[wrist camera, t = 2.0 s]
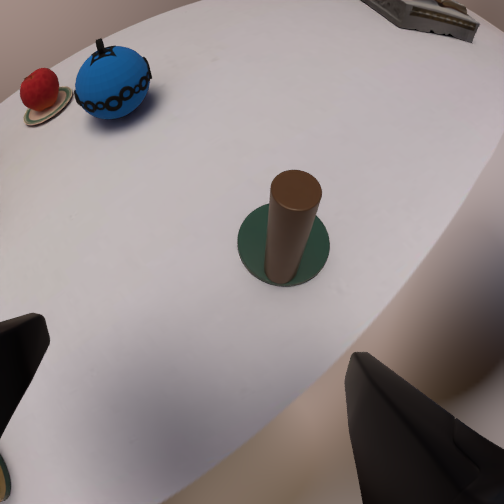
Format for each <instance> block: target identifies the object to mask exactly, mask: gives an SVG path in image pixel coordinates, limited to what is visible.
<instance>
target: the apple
mask: <svg viewBox="0 0 504 504" xmlns="http://www.w3.org/2000/svg"><path fill="white" fill-rule="evenodd" d="M71 96H72V90H71V88H69V87H59V82H58V78H57V76H56V74H55V73H54V72H53V71H51V70H50V69H48V68H41V69H37V70H36V71H34V72H33V73H31V74H30V75H29V76H28V77H26V78H25V79H24V81H23V82H22V84H21V88H20V97H21V100H22V102H23V104H24V105H25V106H26V107H28V109H27V111H26V113H25V115H24V123H25V124H26V125H37V124H40V123H42V122H44V121H46V120H48V119H49V118H51V117H53V116H54V115H55V114H57V113H58V112H59V111H60V110H61V109H62V108H64V106H65V105H66V104H67V103H68V102H69V100H70V98H71Z"/></svg>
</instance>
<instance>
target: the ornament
mask: <svg viewBox="0 0 504 504" xmlns="http://www.w3.org/2000/svg"><path fill="white" fill-rule="evenodd" d="M96 47H97V50H98V51H96V52H94V53H93V54H92V55H91V56H90V57H89V58H88V59H87V60H86V61H85V62H84V64H83V65H82V67H81V68H80V70H79V72H78V75H77V78H76V84H75V87H76V90H75V91H74V95H75V99H76V102H77V103H78V104H79V105H80V106H82V108H83V109H84V110H85V111H86V112H88V113H89V114H91V115H92V116H94V117H97V118H101V119H115V118H120V117H123V116H125V115H127V114H129V113H130V112H132V111H133V110H134V109H136V108H137V107H138V106H139V105H140V104H141V102H142V101H143V99H144V98H145V96H146V94H147V91H148V88H149V84H150V79H152V75H151V71H150V67H149V64H148V61H147V60H146V58H145V57H142V56H140V55H139V54H138V53H137V52H136V51H134V50H132V49H129V48H126V47H121V46H110V47H106V48H104V44H103V41H102V39H98V40H96Z"/></svg>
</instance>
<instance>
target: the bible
mask: <svg viewBox="0 0 504 504" xmlns="http://www.w3.org/2000/svg"><path fill="white" fill-rule="evenodd" d="M361 1H363V2H365V3H366V4H368V6H370V7H371V8H373V9H374V10H376V11H377V12H378V13H380V14H381V15H383V16H384V17H386V18H387V19H388V20H389V21H390V22H392V23H394V24H395V25H397V26H398V27H400V28H407V29H418V31H422V32H423V31H425V32H430V30H433V31H434V33H437V34H444V33H445V35H448V34H449V33H450V34H451V35H453V37H455V38H458V39H461V40H464V41H468V42H471V43H472V41H473V38H474V35H475V33H476V31H477V29H478V27H479V25H480V23H478V22H477V21H476V20H475V19H473V18H472V17H471V16H469V15H468V14H467V10H466V7H465V6H464V5H462V4H460V3H458V2H456V1H454V0H361Z"/></svg>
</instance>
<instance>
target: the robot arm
mask: <svg viewBox="0 0 504 504" xmlns="http://www.w3.org/2000/svg"><path fill="white" fill-rule="evenodd" d="M49 344H50V336H49V333H48V329H47V325H46V321H45V318H44V317H43V316H42V315H40V314H36V313H29V314H26V315H23V316H19V317H16V318H13V319H9V320H6V321H2V322H0V438H1V436H2V434H3V432H4V430H5V428H6V426H7V425H8V423H9V421H10V419H11V417H12V415H13V413H14V411H15V410H16V408H17V406H18V404H19V402H20V401H21V399H22V397H23V395H24V394H25V392H26V390H27V388H28V387H29V385H30V383H31V381H32V379H33V377H34V375H35V373H36V371H37V369H38V367H39V365H40V363H41V360H42V358H43V356H44V354H45V352H46V350H47V348H48V346H49ZM345 392H346V403H347V414H348V426H349V434H350V439H351V444H352V448H353V454H354V459H355V463H356V468H357V474H358V479H359V485H360V490H361V496H362V501H363V504H504V449H502V448H501V447H499V446H497V445H496V444H494V443H492V442H491V441H489V440H487V439H486V438H484V437H483V436H481V435H479V434H478V433H477V432H475V431H474V430H472V429H471V428H469V427H468V426H466V425H465V424H464V423H462V422H461V421H460V420H458V419H457V418H456V419H455V417H454V416H453V415H451V414H450V413H449V412H447V411H446V410H445V409H443V408H442V407H441V406H439V405H438V404H436V403H435V402H434V401H432V400H431V399H430V398H428V397H427V396H426V395H424V394H423V393H422V392H420V391H419V390H418V389H416V388H415V387H414V386H412V385H411V384H410V383H408V382H407V381H405V380H404V379H403V378H402V377H400V376H399V375H397V374H396V373H395V372H393V371H392V370H391V369H389V368H388V367H387V366H385V365H384V364H383V363H381V362H380V361H379V360H377V359H376V358H375V357H373V356H372V355H370V354H369V353H368V352H354V353H353V354H352V355H351V358H350V361H349V365H348V368H347V372H346V376H345Z"/></svg>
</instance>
